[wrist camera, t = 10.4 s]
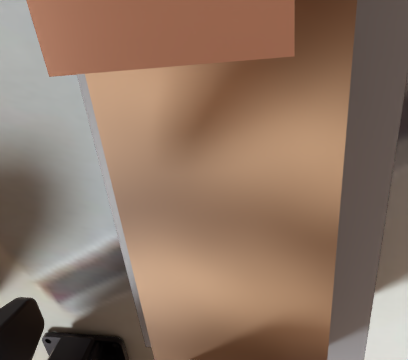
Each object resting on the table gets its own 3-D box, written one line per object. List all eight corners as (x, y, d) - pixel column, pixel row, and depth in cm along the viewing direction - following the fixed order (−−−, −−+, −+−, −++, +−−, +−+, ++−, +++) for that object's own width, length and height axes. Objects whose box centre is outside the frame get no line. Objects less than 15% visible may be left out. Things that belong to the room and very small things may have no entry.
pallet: (313, 351, 20) (321, 431, 17) (184, 342, 21) (167, 414, 18) (341, -174, 10) (377, -247, 7) (99, -131, 11) (23, -175, 8)
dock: (350, 304, 23) (363, 362, 20) (163, 295, 26) (145, 346, 22) (407, -197, 13) (458, -260, 9) (75, -137, 15) (15, -169, 11)
